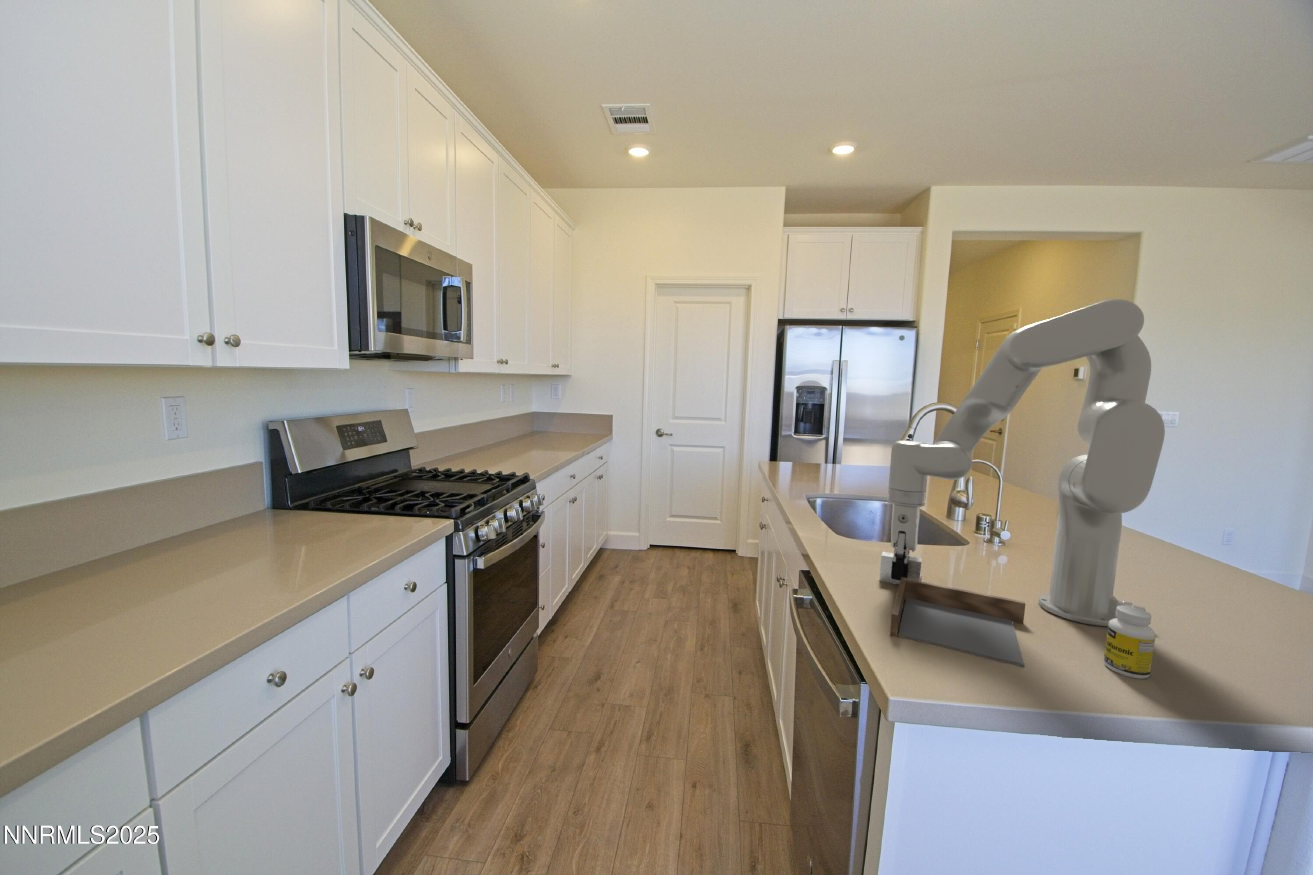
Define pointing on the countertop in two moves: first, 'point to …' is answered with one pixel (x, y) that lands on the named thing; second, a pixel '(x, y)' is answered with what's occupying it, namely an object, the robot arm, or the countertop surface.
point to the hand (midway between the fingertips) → (900, 574)
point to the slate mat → (961, 631)
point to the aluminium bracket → (886, 568)
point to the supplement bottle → (1130, 643)
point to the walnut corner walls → (955, 601)
